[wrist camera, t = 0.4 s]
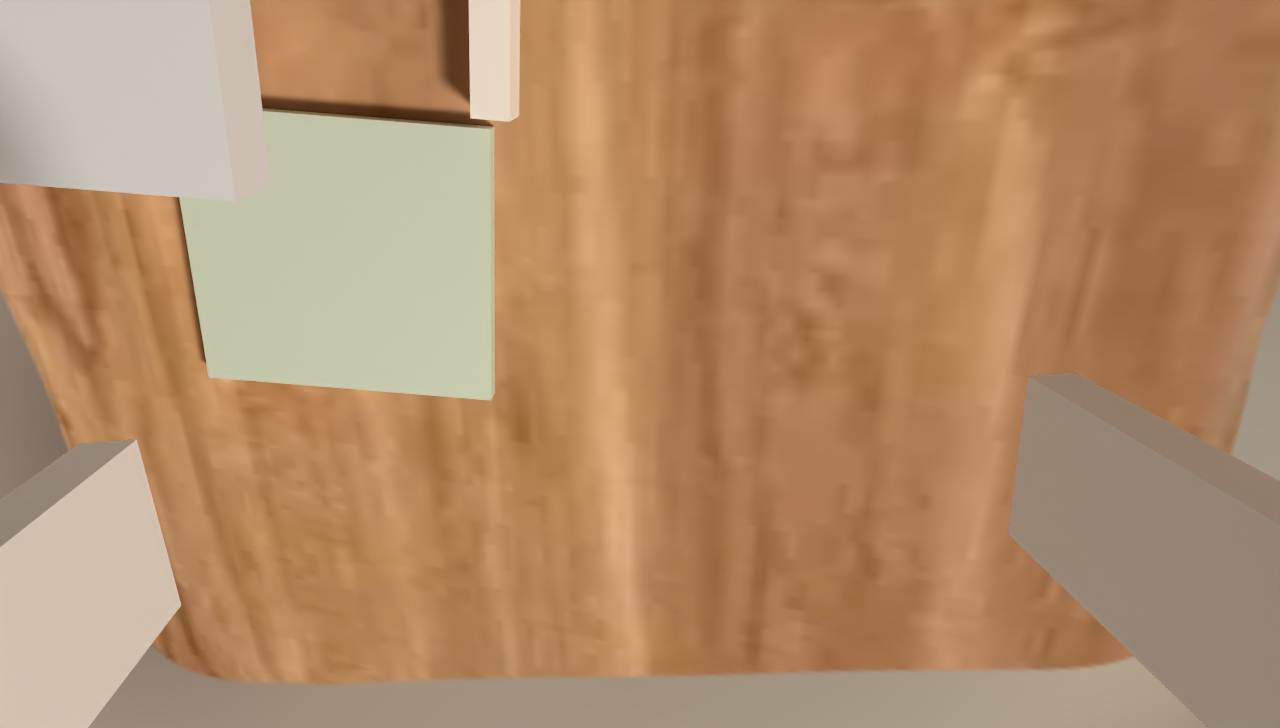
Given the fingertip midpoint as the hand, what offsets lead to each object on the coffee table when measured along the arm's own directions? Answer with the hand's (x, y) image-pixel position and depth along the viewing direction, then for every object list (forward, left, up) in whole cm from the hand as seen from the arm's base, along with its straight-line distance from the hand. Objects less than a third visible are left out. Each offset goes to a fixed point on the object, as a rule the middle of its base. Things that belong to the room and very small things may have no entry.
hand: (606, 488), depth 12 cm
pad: (+12, -7, -23) cm, 26 cm away
